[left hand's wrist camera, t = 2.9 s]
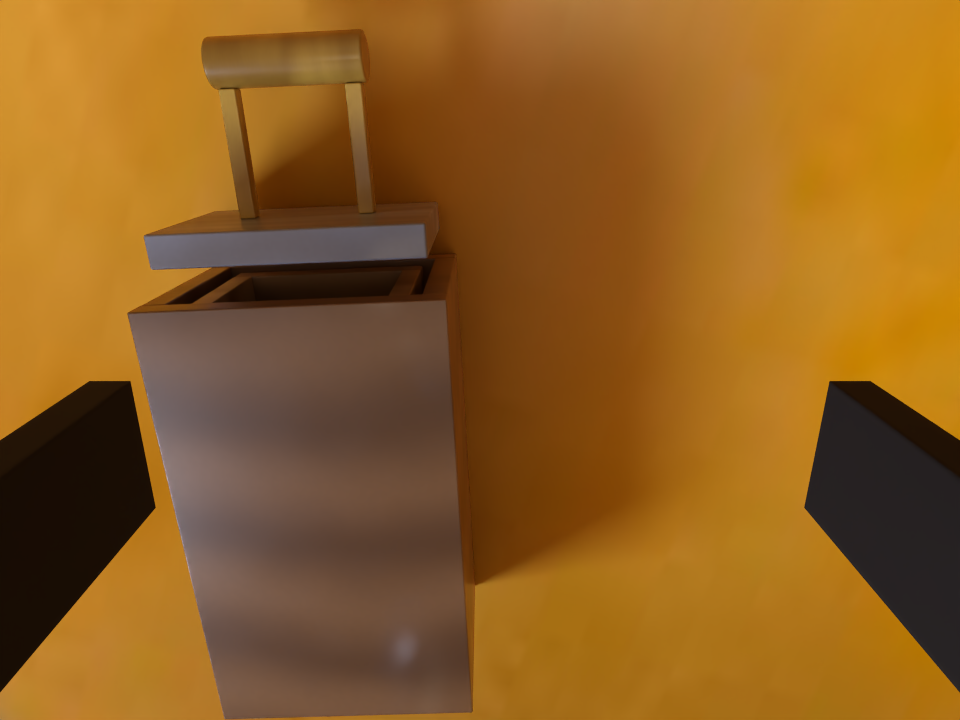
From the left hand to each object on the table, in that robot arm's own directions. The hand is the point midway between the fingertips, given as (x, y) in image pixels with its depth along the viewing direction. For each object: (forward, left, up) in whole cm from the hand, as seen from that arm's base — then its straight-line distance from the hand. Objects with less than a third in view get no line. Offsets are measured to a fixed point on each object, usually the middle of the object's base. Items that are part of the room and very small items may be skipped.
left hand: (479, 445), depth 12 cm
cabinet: (+11, -3, -18) cm, 21 cm away
